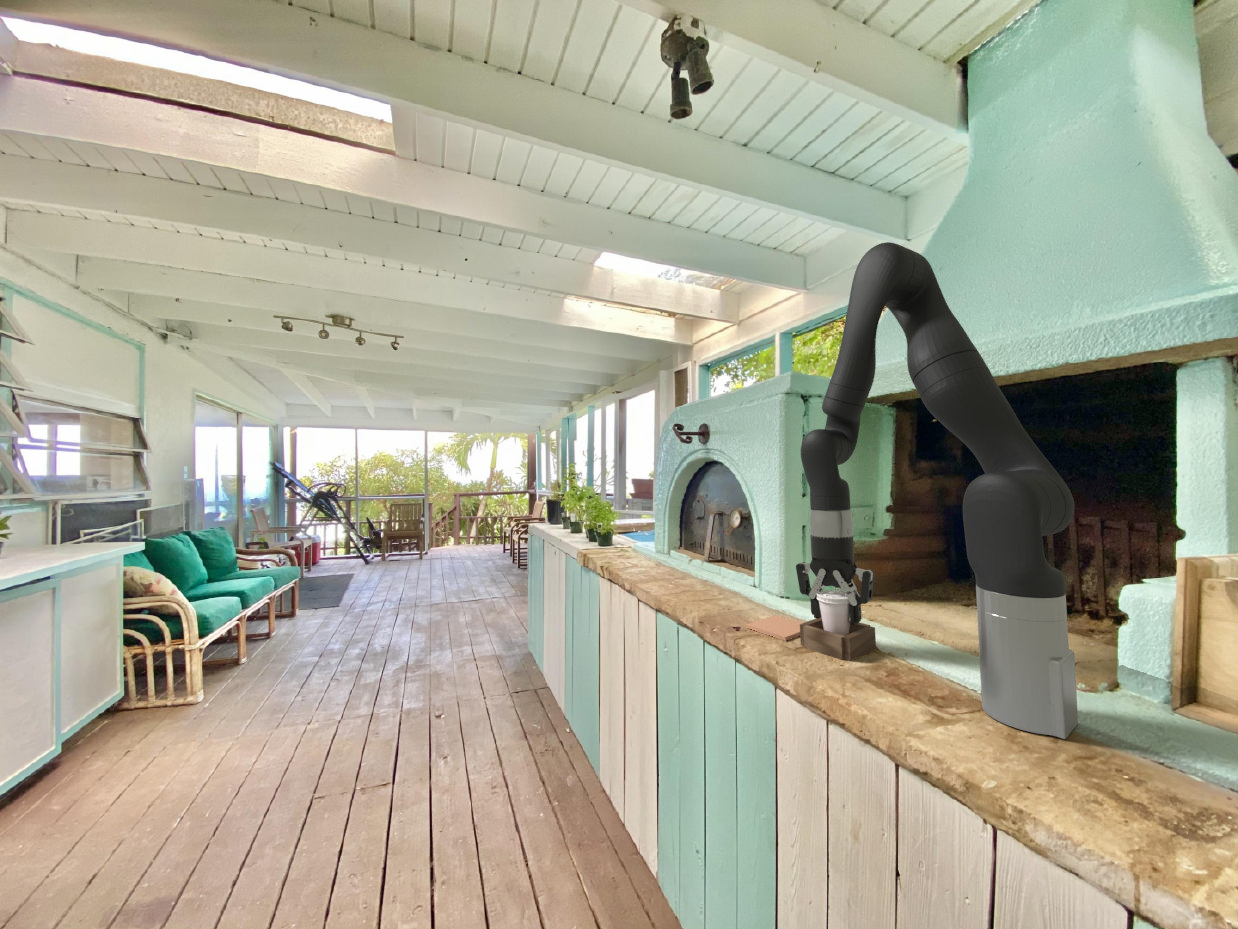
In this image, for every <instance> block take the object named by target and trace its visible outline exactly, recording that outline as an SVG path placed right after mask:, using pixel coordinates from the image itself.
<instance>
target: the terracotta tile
mask: <svg viewBox="0 0 1238 929" xmlns="http://www.w3.org/2000/svg"><path fill="white" fill-rule="evenodd" d="M802 623H803V622H802V621H797V620H795V619H790V618H788V617H787V618H786V617H783V616H780V615H777V614H774V615H771V616H769V617H765V618H762V619H759V620H755V621H753V622H750V623H746V624H745V627H747V628H749V629H748V630H750V629H752V630H751V631H753V630H755V631H754V632H756V631H757V632H756V633H759V632H763V633H765V634H767V635H766V636H768V635H770V636H769V637H771V636H773V637H772V638H774V637H775V638H774V639H777V638H780V639H782V640H781V641H783V640H785V641H784V642H787V641H786V640H788V641H789V639H790V640H792V639H791V638H793V639H795V638H797V637H800V624H802ZM747 628H746V629H747ZM765 634H764V635H765ZM780 639H779V640H780Z"/></svg>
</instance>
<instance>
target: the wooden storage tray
mask: <svg viewBox="0 0 1238 929" xmlns="http://www.w3.org/2000/svg"><path fill="white" fill-rule="evenodd" d="M799 637H800V638H799V639H800V646H802V647H804V649H808V650H810V651H814V652H817V653H820V654H823V655H825V656H826V655H827V656H829V657H832V658H836V659H839V660H841V661H843V660H846V661H849V662H852V661H854V660H856V659H858V658H860V657H862V656H865V655H867V654H869V653H871V652H873V651H875V650H876V649H877V643H876V642H877V641H876V640H877V639H876V627H875V626H871V625H870V624H868V623H863V622H861V621H860V622H859V623H858V624H857V625H855V626H854V625H851V624H850V625H849V634H848V635H846V636H843V635H840V634H836V633H833V632H829V631H826V630H824V628H823V622H822V617H820V618H819V619H817V618H814V619H811V620H810V619H809V620H808V621H805V622H802V624H800V636H799Z"/></svg>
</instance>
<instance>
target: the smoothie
mask: <svg viewBox="0 0 1238 929" xmlns="http://www.w3.org/2000/svg"><path fill="white" fill-rule="evenodd" d="M817 600H819V605H820V611H821V616H822V622H823V628H824V630H826V631H829V632H833V633H836V634H840V635H843V636H846V635H848V634H849V625H850V605H851V603H850V601H849V599H848V598H847V596H846V594H844V592H843V591H841V590H839V588H836V587H834V590H831V589H830V590H822V591H820V592H818V593H817Z"/></svg>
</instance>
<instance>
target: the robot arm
mask: <svg viewBox="0 0 1238 929" xmlns="http://www.w3.org/2000/svg"><path fill="white" fill-rule="evenodd" d="M850 288H851V289H850V294H849V299H848V305H847V310H846V315H845V320H844V326H843V331H842V335H841V336H842V337H841V342H840V346H839V351H838V355H837V359H836V363H835V365H834V369H833V373H832V375H831V377H830V380H829V383H828V386H827V389H826V392H825V396H824V397H823V401H822V406H821V410H822V412H823V413H824V414H825V415H827V416H826V421H825V426H824V428H817V429H813V430H811V431H808V432H807V434H805V435H804V437H803V439H802V442H801V446H800V460H801V463H802V468H803V471H804V475H805V478H806V482H807V483H808V486H809V501H810V502H809V505H810V506H809V507H810V516H809V534H810V536H809V537H810V555H811V561H810V562H806V561H805V562H804V561H802V562H799V563H797V564H796V565H795V570H796V571H795V572H796V576H797V581H798V589H799V592H800V594H801V595H805V596H808V597H809V599H810V613H811V614H812V616H813V617H814V619H816V618H817V619H819V618H820V617H822V616H821V611H820V605H819V600H817V593H818V592H820V591H823V589H824V588H825V587H833V588H835V587H836V588H838V589H841V590H842V592H844V594H846V596H847V598H848V599H849V601H850V603H851V605H850V624H851V625H854V626H855V625H857V624H858V623H859V622H860V623H861V621H862V604H863V605H865V604H868V603H869V602H870V601H872V599H873V588H874V579H875V571H874V570H873V569H872V568H869V569H863V568H860V567H858V566H857V565H856V561H855V542H854V541H855V540H854V523H853V518H852V517H853V516H852V510H851V493H850V492H851V491H850V486H849V483H848V482H847V480H845V479H844V478H841V475H840V470H839V466H840V465H843V464H845V463H846V462H847V461H848V460H849V459H850V458H851V457H852V455H853V454H854V451H855V449H856V447H857V443H858V439H859V433H860V432H859V431H860V427H861V426H860V425H861V416H862V412H863V410H864V408H865V405H866V402H867V400H868V397H869V395H870V392H871V389H872V387H873V384H874V380H875V376H876V375H875V374H876V369H877V368H876V366H877V364H876V363H877V361H876V360H877V358H876V354H877V353H876V348H877V347H876V342H877V331H878V327H879V326H878V325H879V322H880V319H881V316H882V313H883V311H884V309H885V307H886V308H887V309H888V310H889V311H890V312H891V313H892V315H893V316H894V318H895V319H896V322H898V324H899V326H900V327H901V329H902V331H903V333H904V336H905V338H906V347H907V350H906V362H907V371H908V374H909V376H910V379H911V382H912V383H913V386H914V388H915V389H916V392H917V393H918V395H919V398H920V399H921V401H922V404H924V406H925V408H926V409H927V410H928V412H929V413H930V414H931V415H932V416H933V417H934V418H935V419H936V420H937V421H938V422H940V424H941V425H942V426H944V427H945V428H946V429H947V431H949V432H951V433H952V434H953V435H954V436H956V438H957V439H959V440H960V441H961V442H962V443H963V444H964V445H965V446H966V447H967V448H968V450H970V451H971V453H972V454H973V455H974V457H975V458H976V460H977V462H978V463H979V464H980V466H981V468H982V470H983V472H984V473H983V474H981V475H979V476H978V477H976V478H974V479H973V480H972V481H971V482H970V483H969V484H968V485H967V488H966V489H965V492H964V494H963V499H962V518H963V519H962V521H963V529H964V530H963V531H964V539H965V547H966V556H967V561H968V563H969V566H970V568H971V570H972V571H973V572H974V576H975V591H976V592H975V595H976V596H975V597H976V613H977V632H978V634H977V635H978V636H977V637H978V650H979V651H978V652H979V654H978V655H979V656H978V657H979V672H980V673H979V674H980V696H981V704H982V706H981V707H982V709H983V711H984V712H985V713H986V714H987V715H988V716H990V718H992V719H994V720H996V721H998V722H1000V723H1002V724H1005V725H1007V726H1009V727H1012V728H1015V729H1017V730H1021V731H1025V732H1029V733H1032V734H1039V735H1046V736H1047V735H1049V736H1053V737H1057V738H1060V739H1062V740H1066V739H1067V738H1068V736H1070V735H1071V733H1072V731H1074V729H1075V728H1076V726H1077V725H1078V724H1079V715H1078V712H1079V711H1078V698H1077V697H1078V696H1077V679H1076V678H1077V677H1076V661H1075V660H1076V658H1075V657H1076V656H1075V651H1074V650H1073V649H1071V648H1070V647H1069V646H1070V645H1069V631H1068V611H1067V594H1066V593H1067V590H1066V589H1067V588H1066V578H1065V575H1064V573H1063V572H1062V571H1061V570H1060V569H1058V568H1056V567H1054V566H1051V565H1050V564H1049V562H1048V561H1047V559H1046V557H1045V549H1044V540H1043V537H1046V536H1051V535H1054V534H1055V535H1056V534H1057V533H1060V532H1062V531H1063V530H1065V529H1066V528H1068V526H1069V525H1070V523H1071V522H1072V521H1073V518H1074V515H1075V508H1076V507H1075V500H1074V497H1073V495H1072V492H1071V490H1070V488H1069V487H1068V485H1067V483H1066V482H1065V481H1064V479H1063V477H1061V475H1060V474H1059V473H1058V472H1057V470H1056V469H1055V468H1054V466H1053V465H1052V464H1051V463H1050V461H1049V460H1048V459H1047V458H1046V457H1045V455H1044V454H1043V453H1042V452H1043V451H1041V450H1040V448H1038V446H1037V445H1036V443H1035V442H1034V441H1033V440H1032V438H1031V436H1029V434H1028V432H1027V430H1025V428H1024V427H1023V425H1022V424H1021V422H1020V420H1019V418H1018V417H1017V415H1016V413H1015V412H1014V409H1013V407H1012V406H1011V404H1010V402H1009V401H1008V400H1007V398H1006V396H1005V395H1004V392H1002V390H1001V388H1000V387H999V385H998V384H997V381H996V379H995V378H994V375H993V374H992V372H991V370H990V369H989V366H988V365H987V363H986V361H985V360H984V359H983V357H982V355H981V353H980V352H979V351H978V348H977V347H976V346H975V345H974V343H973V342H972V340H971V339H970V337H969V335H968V334H967V333H966V331H965V329H964V327H963V326H962V324H961V323H960V321H958V318H957V317H956V316H955V315H954V313H953V311H951V309H950V307H949V305H948V303H947V300H946V298H945V297H944V295H943V292H942V289H941V287H940V284H939V282H938V280H937V277H936V274H935V272H934V270H933V267H932V265H931V264H930V262H929V260H927V258H926V257H925V256H923V255H922V254H920V253H919V252H917V251H914V250H912V249H910V248H909V247H906V246H904V245H903V246H902V245H900V244H899V243H895V242H890V241H886V242H882V243H879V244H876V245H874V246H873V247H871V248H870V249H869V250H868V251H867V252H866V253H864V255H863V256H862V257H861V259H860V260H859V263H857V266H856V269H855V272H854V275H853V278H852V283H851V287H850ZM811 571H812V573H813V574H814V575H815V579H814V581H813V583H812V586H811V582H810V576H809V574H810V572H811ZM856 575H857V576H858V580H859V581H860V582H861V588H860V593H859V592H858V589H857V586H856V584H855V582H854V581H853V579H854V577H855V576H856Z"/></svg>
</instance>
